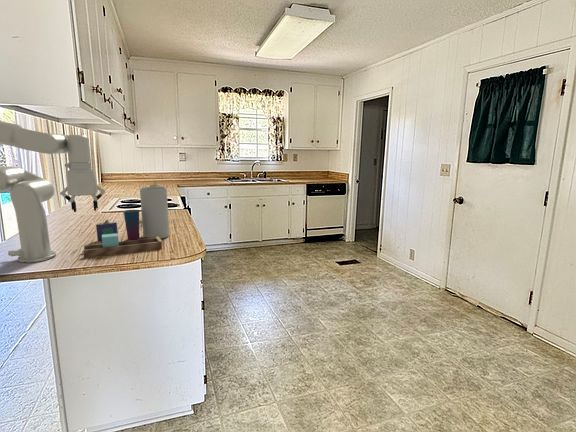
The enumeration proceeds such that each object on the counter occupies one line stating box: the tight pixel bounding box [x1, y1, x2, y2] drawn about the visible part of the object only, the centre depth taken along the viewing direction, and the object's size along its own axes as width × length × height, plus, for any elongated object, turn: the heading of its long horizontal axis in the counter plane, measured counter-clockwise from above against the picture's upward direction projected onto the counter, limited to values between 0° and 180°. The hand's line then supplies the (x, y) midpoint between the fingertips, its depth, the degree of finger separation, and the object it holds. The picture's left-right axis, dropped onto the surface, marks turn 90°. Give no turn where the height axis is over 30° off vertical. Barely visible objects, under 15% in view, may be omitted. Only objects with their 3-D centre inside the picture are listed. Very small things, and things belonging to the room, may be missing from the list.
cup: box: [123, 209, 140, 241], centre depth 164 cm, size 7×7×15 cm
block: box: [101, 233, 120, 248], centre depth 144 cm, size 6×5×7 cm
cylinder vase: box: [139, 186, 170, 240], centre depth 171 cm, size 12×12×25 cm
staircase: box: [149, 179, 165, 187], centre depth 213 cm, size 8×12×26 cm
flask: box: [95, 219, 119, 242], centre depth 163 cm, size 9×3×11 cm, turn 135°
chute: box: [82, 237, 163, 259], centre depth 147 cm, size 30×10×4 cm, turn 118°
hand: (85, 210), depth 137 cm, fingers open, 6 cm apart
